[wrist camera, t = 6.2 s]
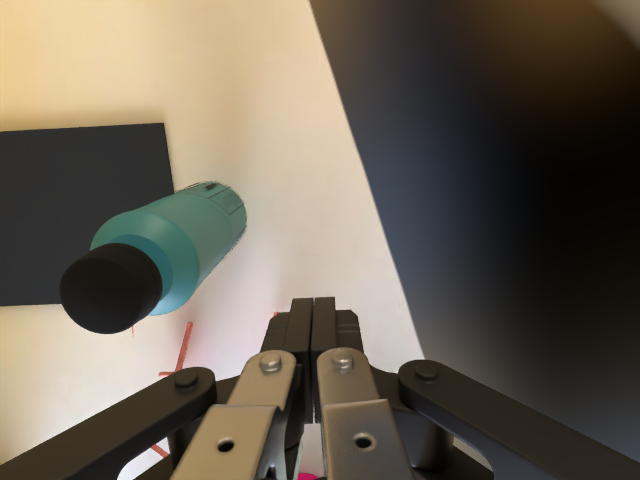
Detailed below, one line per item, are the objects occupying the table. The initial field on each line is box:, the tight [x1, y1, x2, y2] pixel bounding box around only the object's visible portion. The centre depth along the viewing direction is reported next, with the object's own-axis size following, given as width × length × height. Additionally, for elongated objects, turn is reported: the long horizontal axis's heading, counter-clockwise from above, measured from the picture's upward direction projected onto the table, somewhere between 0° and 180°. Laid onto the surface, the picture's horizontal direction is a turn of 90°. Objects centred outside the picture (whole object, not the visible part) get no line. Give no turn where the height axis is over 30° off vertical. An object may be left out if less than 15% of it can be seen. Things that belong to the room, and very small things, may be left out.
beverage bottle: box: [59, 181, 247, 334], centre depth 27 cm, size 6×7×20 cm
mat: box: [0, 123, 174, 306], centre depth 36 cm, size 22×17×1 cm
